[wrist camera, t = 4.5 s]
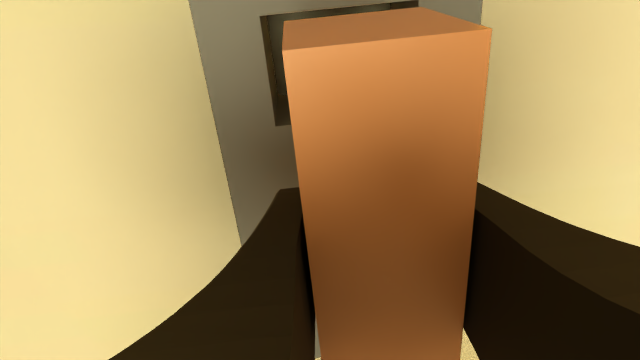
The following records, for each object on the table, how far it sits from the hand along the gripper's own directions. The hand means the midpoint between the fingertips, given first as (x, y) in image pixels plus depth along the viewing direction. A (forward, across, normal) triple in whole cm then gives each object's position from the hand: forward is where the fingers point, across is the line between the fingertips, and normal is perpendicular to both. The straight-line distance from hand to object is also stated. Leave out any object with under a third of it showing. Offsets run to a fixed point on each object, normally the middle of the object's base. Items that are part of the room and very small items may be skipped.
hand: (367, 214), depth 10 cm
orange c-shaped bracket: (+4, 0, 0) cm, 4 cm away
